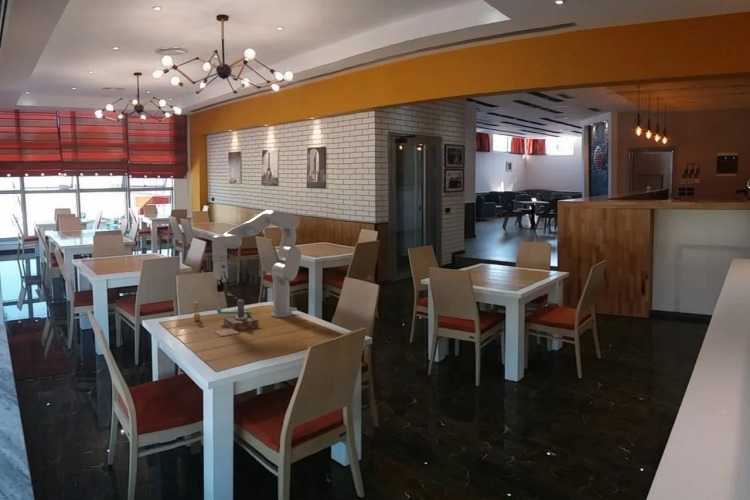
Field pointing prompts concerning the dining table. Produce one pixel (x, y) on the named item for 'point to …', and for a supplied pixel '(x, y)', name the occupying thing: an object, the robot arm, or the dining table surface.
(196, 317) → the figurine
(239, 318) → the plug
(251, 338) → the dining table surface
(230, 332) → the tile
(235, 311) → the clip
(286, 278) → the robot arm
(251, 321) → the socket block
